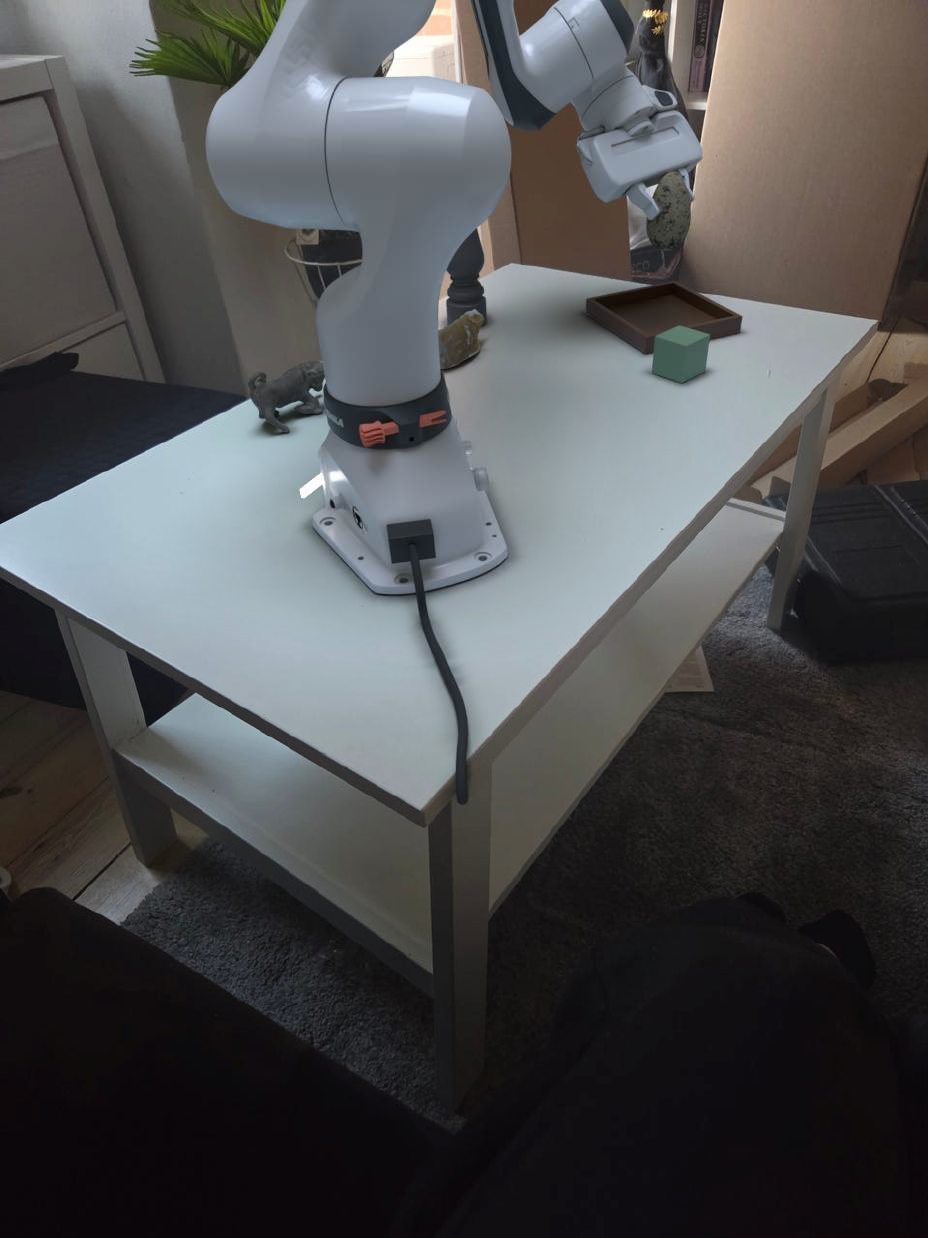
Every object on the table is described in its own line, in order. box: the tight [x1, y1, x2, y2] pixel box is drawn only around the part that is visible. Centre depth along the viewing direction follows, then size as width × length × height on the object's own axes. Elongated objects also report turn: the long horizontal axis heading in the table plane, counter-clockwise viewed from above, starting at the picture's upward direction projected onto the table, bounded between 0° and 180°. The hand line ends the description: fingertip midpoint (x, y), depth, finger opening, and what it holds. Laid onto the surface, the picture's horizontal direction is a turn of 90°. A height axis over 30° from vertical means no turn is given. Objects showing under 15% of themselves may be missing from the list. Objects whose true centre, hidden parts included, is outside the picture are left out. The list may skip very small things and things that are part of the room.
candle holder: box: [445, 227, 488, 327], centre depth 122 cm, size 6×6×25 cm
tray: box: [585, 280, 743, 355], centre depth 124 cm, size 18×16×2 cm
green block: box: [651, 325, 711, 384], centre depth 110 cm, size 5×5×5 cm
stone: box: [438, 309, 484, 370], centre depth 118 cm, size 7×6×15 cm
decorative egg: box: [645, 172, 692, 252], centre depth 115 cm, size 6×6×10 cm
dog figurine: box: [247, 360, 325, 433], centre depth 106 cm, size 12×6×7 cm, turn 138°
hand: (673, 209), depth 114 cm, fingers closed on decorative egg, 6 cm apart
